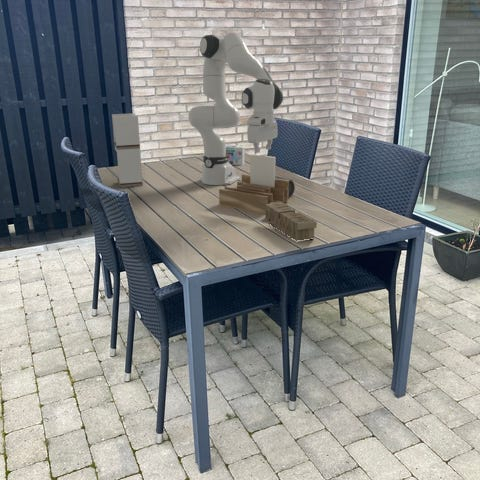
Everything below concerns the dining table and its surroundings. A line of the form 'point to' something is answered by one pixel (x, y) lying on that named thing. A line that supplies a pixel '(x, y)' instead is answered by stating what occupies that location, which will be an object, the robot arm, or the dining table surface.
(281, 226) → the block tower
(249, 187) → the offcut top
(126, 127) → the grey stacked pillar
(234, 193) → the rack
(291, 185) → the bluetooth speaker
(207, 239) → the dining table surface
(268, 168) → the white rectangular panel
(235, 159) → the light bulb box
